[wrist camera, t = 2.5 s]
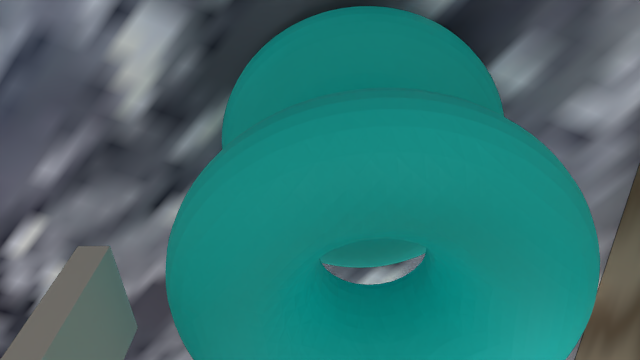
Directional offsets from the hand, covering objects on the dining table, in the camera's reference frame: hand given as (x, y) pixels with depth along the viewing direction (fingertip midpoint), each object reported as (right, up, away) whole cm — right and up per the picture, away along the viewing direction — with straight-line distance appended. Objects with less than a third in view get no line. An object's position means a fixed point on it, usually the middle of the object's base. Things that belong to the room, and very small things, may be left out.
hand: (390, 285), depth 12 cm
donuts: (0, +4, +8) cm, 9 cm away
